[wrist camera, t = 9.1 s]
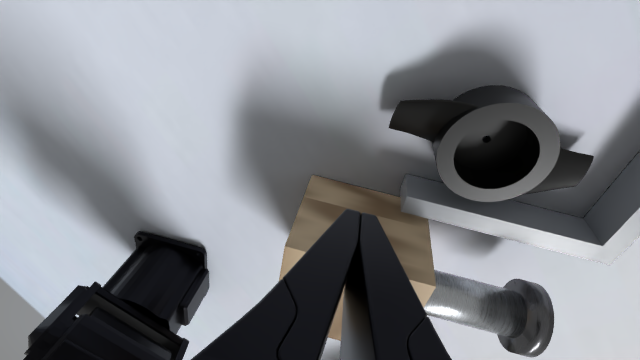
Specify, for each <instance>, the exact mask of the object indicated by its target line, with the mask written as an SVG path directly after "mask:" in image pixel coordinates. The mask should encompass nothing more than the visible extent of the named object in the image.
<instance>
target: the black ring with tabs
mask: <svg viewBox="0 0 640 360" xmlns="http://www.w3.org/2000/svg"><path fill="white" fill-rule="evenodd" d="M389 128H390V129H395V130H399V131H403V132H406V133H410V134H413V135H416V136H419V137H421V138H424V139H427V140H430V141H431V142H432V144H433V150H434V155H435V160H436V165H437V169H438V173H439V175H440V177H441V179H442V181H443V182H444V184H445V185H446V186H447V187H448V188H449V189H450V190H452V191H453V192H454V193H456V194H458V195H460V196H462V197H464V198H467V199H470V200H474V201H481V202H496V201H503V200H507V199H511V198H514V197H517V196H520V195H523V194H530V193H536V192H542V191H548V190H554V189H560V188H567V187H574V186H576V185H577V184H578V183H579V182H580V181H581V180H582V178H583V177H584V176H585V174H586V173H587V171H588V169H589V167H590V165H591V163H592V160H593V157H594V156H591V155H586V154H581V153H576V152H572V151H569V150H565V149H562V148H560V136H559V133H558V130H557V128H556V126H555V124H554V123H553V122H552V120H551V119H550V118H549V117H548V116H547V115H546V114H545V113H544V112H543V111H542V110H541V109H540V108H539V107H538V106H537V104H536V103H535V102H534V101H533V100H532V99H531V98H530V97H529V96H527V95H526V94H525V93H523V92H521V91H519V90H517V89H514V88H511V87H507V86H498V85H494V86H484V87H479V88H476V89H473V90H470V91H468V92H465V93H464V94H462V95H460V96H458V97H457V98H455V99H454V100H453V101H452V100H405V101H400V102H399V104H398V105H397V107H396V109H395V111H394V113H393V116H392V118H391V121H390V125H389ZM484 136H488V137H487V138H483V137H484Z"/></svg>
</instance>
